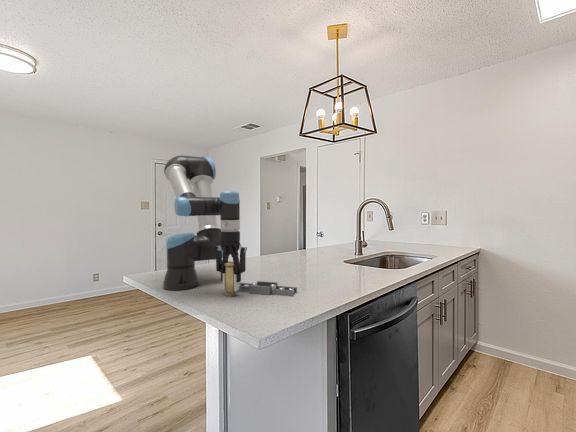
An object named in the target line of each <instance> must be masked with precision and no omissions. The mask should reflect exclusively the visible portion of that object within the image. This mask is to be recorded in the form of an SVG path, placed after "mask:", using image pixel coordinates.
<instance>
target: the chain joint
mask: <svg viewBox="0 0 576 432" xmlns="http://www.w3.org/2000/svg"><path fill="white" fill-rule="evenodd" d="M278 284H279V283H278V281H277V282H275V281H263V280H257V281H256V282H252V283H249V282H241V281H240V282H239V290H237V292H243V293H244V292H245V293H249V294H255V295H264V296H265V295H267V296H271V295H276V296H287V297H293V296H294V295H295V294H297V293H298V287H297V286H285V285H278Z"/></svg>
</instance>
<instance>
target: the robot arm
mask: <svg viewBox="0 0 576 432" xmlns="http://www.w3.org/2000/svg"><path fill="white" fill-rule="evenodd" d="M163 168H164V169H163V171H164V172H163V173H164V176H165V178H166V179H167V180H168V181H169V183H170V185H171V187H172V190H173V192H174V195H175V197H176V198H175V200H174V204H173V206H174V213H175V215H176V216H178V217H197V224H198V230H197V232H196V235H195V233H194V232H184V233H183V232H182V233H178V234H174V235H170V236H169V237H168V238H166V267H167V268H166V273H165V276H164V278H163V279H164V281H162V287H163V289H164V290H167V291H183V290H184V291H185V290H190V289H194V288H196V287H198V286H199V285H200V279H199V277H198V272H197V270H196V266H195V265H196V264H195V263H196V262H200V261H201V262H202V261H210V260H213V261H215V262H216V263H215V266H216V268H215V269H216V272H219V273H220V281H222V290H223V291H225V265H224V263H225V262H228V261H229V258H230V257H229V256H230V255H231V258H232V261H233V262H234V267H235V272H236V273H235V274H234V291H237V290H239V282H240V283H241V282H242V274H243V273H245V272H246V268H247V267H246V262H247V261H246V252H247V249H248V247H246V246H243V245H242V244H241V232H240V230H241V227H240V226H241V220H240V218H241V217H240V206H241V205H240V204H241V203H240V202H241V200H240V193H239V191H231V190H230V191H229V190H228V191H227V190H225V191H220V194H219V196H217V197H216V196H214V195H213V191H212V189H213V188H212V185H211V184H213V182H214V180H215V179H216V176H217V173H216V171H217V170H216V165H215V162H214V161H213V159H212V158H211V157H207V156H206V157H205V156H191V155H176V156H174V157H171V158H170V159H169V160H168V161H167V162H166V163H165V165H164V167H163ZM216 216H219V219H220V220H219V221H220V223H219V224H220V225H219V226H220V227H218V223H217V222H218V221H217V217H216ZM237 292H238V291H237Z"/></svg>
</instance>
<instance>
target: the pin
mask: <svg viewBox="0 0 576 432" xmlns="http://www.w3.org/2000/svg"><path fill="white" fill-rule="evenodd" d="M224 265H225V290H224V291H225V296H226V297H236V296H237V295H238V291H234V274H235V273H236V272H235V267H234V262H233V260H228V262H225V263H224Z"/></svg>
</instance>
